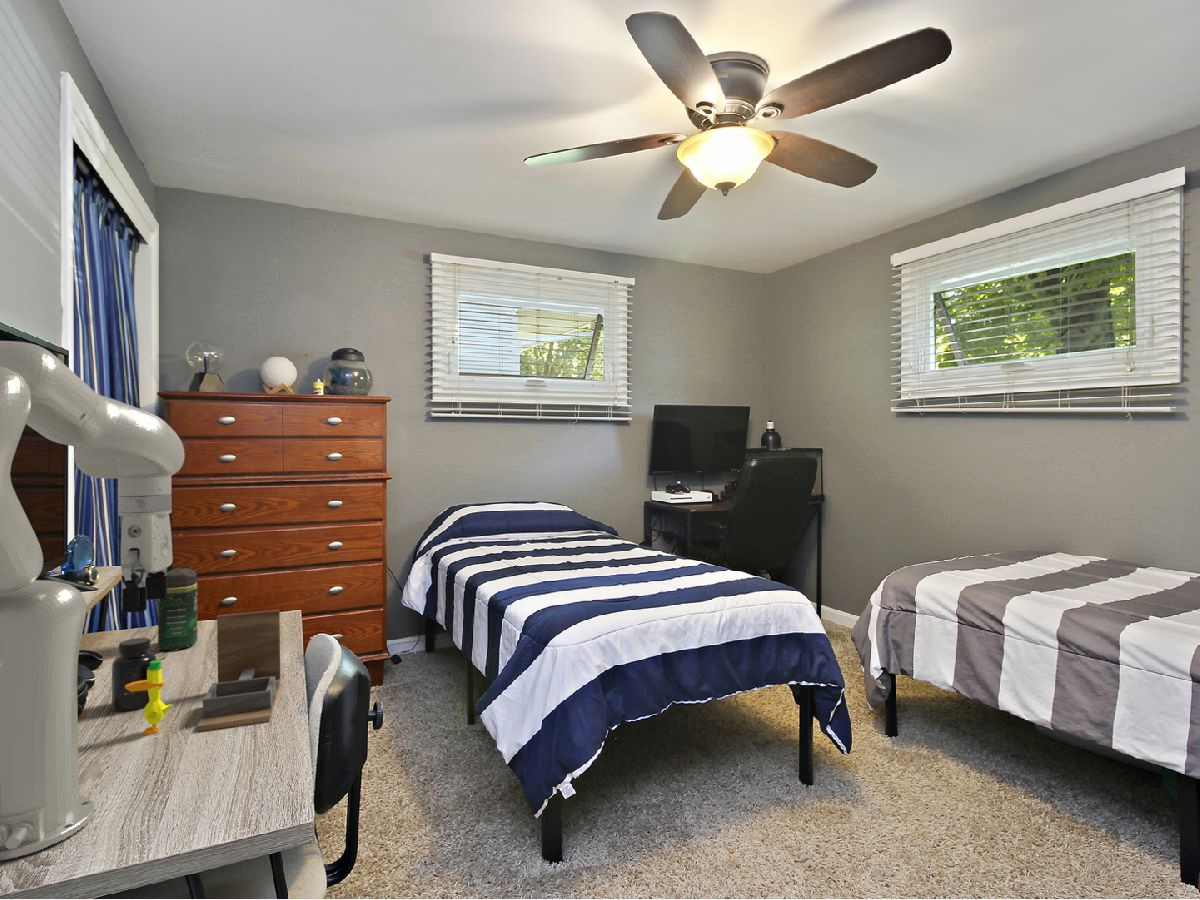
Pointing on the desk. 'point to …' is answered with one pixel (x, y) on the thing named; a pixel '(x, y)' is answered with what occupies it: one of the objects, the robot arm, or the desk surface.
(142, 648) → the supplement bottle
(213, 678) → the desk surface
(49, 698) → the robot arm
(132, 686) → the toy figure
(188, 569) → the coffee jar
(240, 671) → the open wooden box
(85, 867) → the desk surface
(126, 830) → the desk surface
